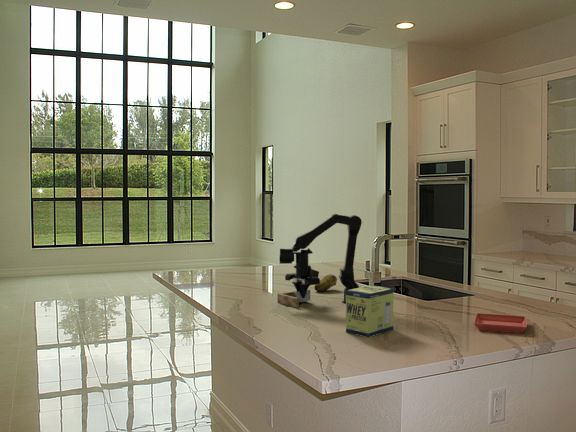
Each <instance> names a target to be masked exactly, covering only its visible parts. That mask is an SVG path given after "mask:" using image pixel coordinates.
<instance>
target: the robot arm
mask: <svg viewBox="0 0 576 432" xmlns="http://www.w3.org/2000/svg"><path fill="white" fill-rule="evenodd" d="M362 223H363V222H362V219H361V217H360V216H358V215H357V214H356V215H355V214H352V215H350V216H348V215H341V214H338V213H333V214H332V215H331V216H330V217H329V218H326V219H325V220H324V221H322V222H321V223H320V224H318V225H317V226H315V227H314V228H312V229H311V230H309V231H307V232H304V233H302V234H300V235H298V236H297V237H296V238H295V241H294V242H295V243H294V244H293V246H292V247H291V248H279V264H280V265H282V264H283V265H285V264H287V265H292V264H293V262H295V265H294V266H293V268H294V269H295V272H291V273H286V274H285V275H284V278H285V281H291V280H293V281H292V282H291V284H293V286H294V288H295V289H296V290H295V291H301V295H302V298H305V295H306V292H307V290H308V289H309V287H310V286H315V284H320V281H321V278H319V274H320V271H318V270H315V269H312V266H311V265H309V255H310V254H313V250H311V249H310V248H309V246H310V245H311V244H312V243H313V241H315V239H317V237H319V236H320V235H322V234H323V233H325V232H327V230H329V229H331V228H332V227H333V226H335V225H336V224H341V225H344V226H345V225H347V234H348V235H347V242H346V250H345V258H344V266H343V268H339V275H338V278H339V281H340V283H341V284H342V286H343V287H344V289H343V300H342V301H341V303H343V304H346V290H351V289H356V288H360V285H359V284H358V283H357V282H356V281H355V271H354V270H355V269H354V263H355V262H354V261H355V255H356V247H357V246H356V245H357V239H358V235H359V232H360V230H361V226H362ZM306 248H307V249H306Z"/></svg>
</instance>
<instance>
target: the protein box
mask: <svg viewBox="0 0 576 432" xmlns="http://www.w3.org/2000/svg"><path fill="white" fill-rule="evenodd" d="M390 330H391V331H394V288H392V287H386V286H379V285H372V284H370V285H366V286H365V285H364V286H361V287H360V286H359V288H356V289H351V290H346V303H345V332H346V333H347V332H348V333H347V334H351V335H356V334H358V335H357V336H360V335H362V336H361V337H364V336H366V337H365V338H371V337H374V336H373V335H375V336H377V335H376V334H378V335H380V333H381V334H384V333H387V331H388V332H390ZM383 332H384V333H383ZM370 336H371V337H370Z"/></svg>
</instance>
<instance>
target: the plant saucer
mask: <svg viewBox="0 0 576 432" xmlns="http://www.w3.org/2000/svg"><path fill="white" fill-rule="evenodd" d="M474 317H475V318H474V321H473V324H474V326H475V327H476V328H477V330H479V331H484V330H488V331H487V332H497V331H502V332H501V333H510V332H514V333H513V334H522V333H523V332H524V331H525V330H526V329H527V328H528V323H527V322H528V321H527V317H526V316H525V315H524V316H522V315H513V314H512V315H509V314H508V315H507V314H498V313H497V314H496V313H495V314H494V313H479V312H476V313H475V316H474ZM489 330H490V331H489Z"/></svg>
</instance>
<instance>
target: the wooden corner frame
mask: <svg viewBox="0 0 576 432" xmlns="http://www.w3.org/2000/svg"><path fill="white" fill-rule="evenodd" d="M295 291H296V290H294V291H288V292H287V291H285V292H280V293H277V303H278V304H282V305H285V306H289V307H293V308H300V307H299V306H300V302H299V298H296V297H295Z"/></svg>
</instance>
